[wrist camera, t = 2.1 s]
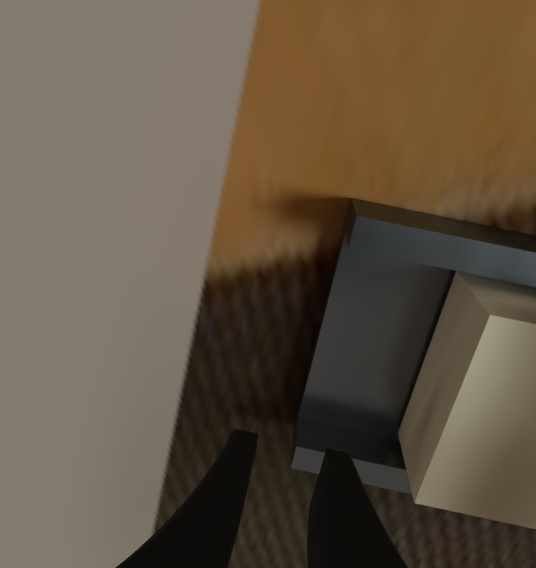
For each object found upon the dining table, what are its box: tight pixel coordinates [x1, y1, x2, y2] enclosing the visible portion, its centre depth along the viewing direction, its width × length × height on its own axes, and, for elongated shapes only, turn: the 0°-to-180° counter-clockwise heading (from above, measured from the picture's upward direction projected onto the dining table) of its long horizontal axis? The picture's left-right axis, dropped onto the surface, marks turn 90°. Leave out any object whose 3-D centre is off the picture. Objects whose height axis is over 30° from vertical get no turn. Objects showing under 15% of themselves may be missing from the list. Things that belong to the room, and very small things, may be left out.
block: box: [398, 271, 536, 529], centre depth 19 cm, size 6×8×4 cm
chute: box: [291, 198, 536, 494], centre depth 20 cm, size 18×11×3 cm, turn 79°
